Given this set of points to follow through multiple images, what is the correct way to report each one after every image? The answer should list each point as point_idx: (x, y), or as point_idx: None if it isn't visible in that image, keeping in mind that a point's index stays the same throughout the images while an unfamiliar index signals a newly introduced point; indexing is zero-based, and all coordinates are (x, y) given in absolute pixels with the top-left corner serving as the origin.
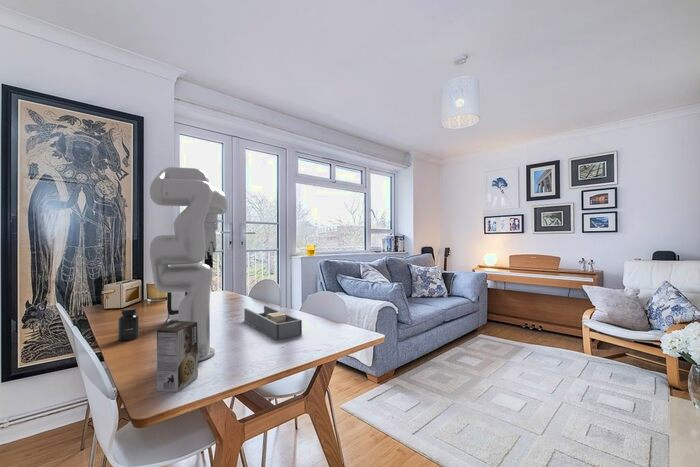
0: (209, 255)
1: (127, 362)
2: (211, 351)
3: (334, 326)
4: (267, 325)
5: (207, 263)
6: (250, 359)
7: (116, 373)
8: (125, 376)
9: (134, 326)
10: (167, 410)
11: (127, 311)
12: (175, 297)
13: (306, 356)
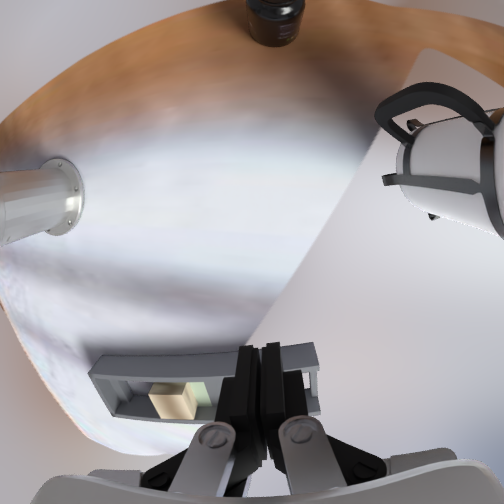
0: (127, 470)
1: (82, 77)
2: (50, 229)
3: (161, 447)
4: (135, 368)
5: (222, 395)
6: (29, 285)
7: (47, 83)
8: (32, 103)
9: (254, 24)
10: None
11: None
12: (442, 136)
13: (34, 351)
